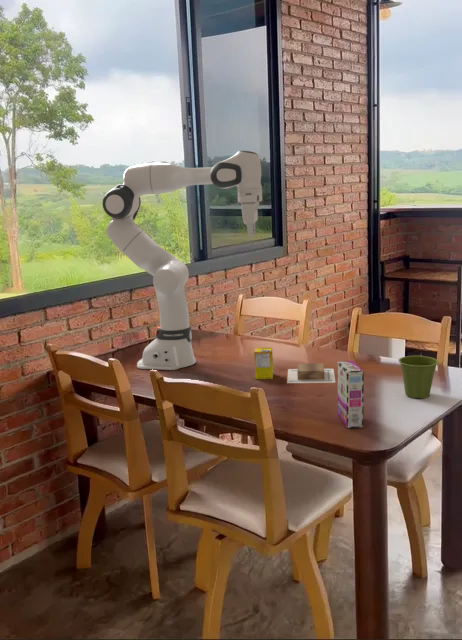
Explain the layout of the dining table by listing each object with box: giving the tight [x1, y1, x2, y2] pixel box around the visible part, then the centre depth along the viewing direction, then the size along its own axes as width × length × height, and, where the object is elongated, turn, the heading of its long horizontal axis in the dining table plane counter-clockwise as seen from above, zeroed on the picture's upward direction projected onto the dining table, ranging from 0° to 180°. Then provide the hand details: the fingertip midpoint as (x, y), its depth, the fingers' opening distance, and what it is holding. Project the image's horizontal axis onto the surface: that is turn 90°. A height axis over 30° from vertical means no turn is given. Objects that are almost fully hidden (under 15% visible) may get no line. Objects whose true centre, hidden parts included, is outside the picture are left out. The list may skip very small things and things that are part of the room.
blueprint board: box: [286, 368, 336, 384], centre depth 228 cm, size 16×16×1 cm
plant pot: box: [398, 355, 439, 399], centre depth 206 cm, size 12×12×11 cm
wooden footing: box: [296, 362, 325, 380], centre depth 228 cm, size 9×9×3 cm
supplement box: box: [253, 346, 274, 380], centre depth 229 cm, size 6×6×11 cm
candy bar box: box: [337, 360, 365, 429], centre depth 187 cm, size 11×5×16 cm, turn 5°
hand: (251, 235), depth 242 cm, fingers open, 8 cm apart
